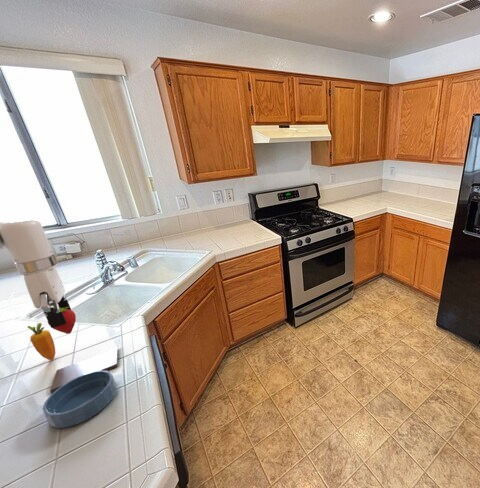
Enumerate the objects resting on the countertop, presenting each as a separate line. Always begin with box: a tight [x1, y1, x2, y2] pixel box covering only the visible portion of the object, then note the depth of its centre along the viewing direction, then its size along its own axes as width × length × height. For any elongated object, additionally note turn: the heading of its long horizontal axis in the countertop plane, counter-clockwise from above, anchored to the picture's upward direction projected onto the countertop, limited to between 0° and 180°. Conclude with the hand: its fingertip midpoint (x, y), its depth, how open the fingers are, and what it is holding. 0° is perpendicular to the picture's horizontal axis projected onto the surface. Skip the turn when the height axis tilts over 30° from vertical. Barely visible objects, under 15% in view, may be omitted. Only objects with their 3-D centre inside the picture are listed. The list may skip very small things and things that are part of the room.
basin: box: [42, 370, 118, 429], centre depth 73 cm, size 14×14×5 cm
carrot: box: [27, 322, 56, 361], centre depth 89 cm, size 5×5×15 cm
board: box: [49, 347, 119, 394], centre depth 86 cm, size 16×10×1 cm, turn 127°
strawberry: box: [47, 306, 77, 335], centre depth 77 cm, size 6×8×10 cm
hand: (61, 318), depth 77 cm, fingers closed on strawberry, 7 cm apart
